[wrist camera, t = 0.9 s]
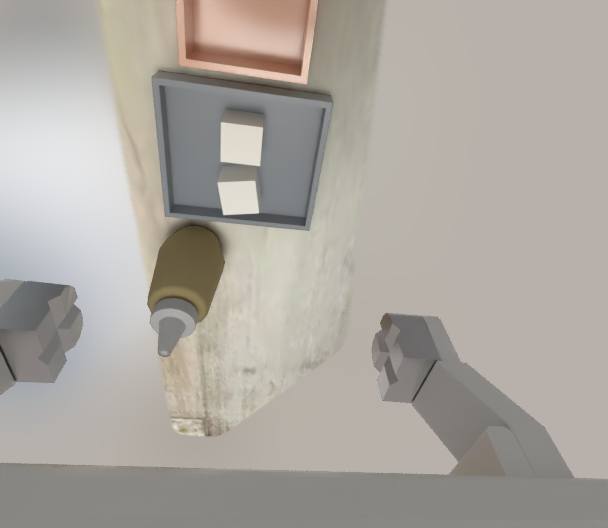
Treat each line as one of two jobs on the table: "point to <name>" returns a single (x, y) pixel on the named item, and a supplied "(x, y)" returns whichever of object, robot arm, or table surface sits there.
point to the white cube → (241, 137)
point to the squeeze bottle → (183, 284)
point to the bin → (247, 37)
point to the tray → (206, 163)
